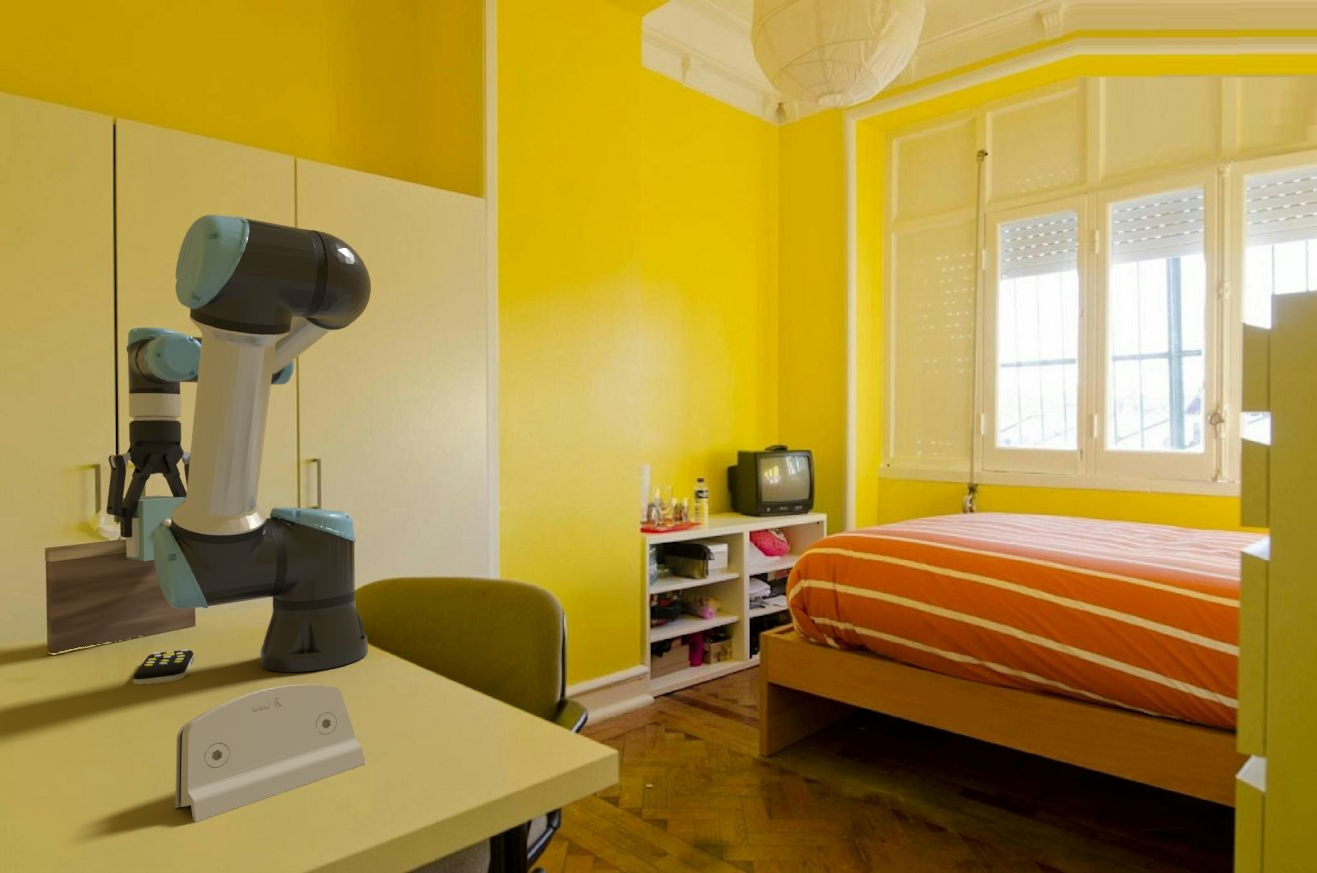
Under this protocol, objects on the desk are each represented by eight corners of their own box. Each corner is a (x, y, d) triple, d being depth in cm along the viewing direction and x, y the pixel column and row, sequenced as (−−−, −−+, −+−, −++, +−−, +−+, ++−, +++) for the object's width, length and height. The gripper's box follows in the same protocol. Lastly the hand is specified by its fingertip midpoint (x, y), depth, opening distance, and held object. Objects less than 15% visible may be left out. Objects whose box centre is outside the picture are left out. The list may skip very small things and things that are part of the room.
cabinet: (191, 555, 136) (190, 497, 136) (147, 561, 130) (146, 501, 130) (158, 551, 142) (157, 495, 142) (114, 556, 136) (113, 498, 136)
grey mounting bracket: (190, 823, 70) (176, 709, 72) (174, 825, 73) (160, 715, 75) (368, 763, 82) (351, 667, 84) (348, 766, 85) (332, 673, 87)
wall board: (196, 626, 144) (194, 532, 144) (53, 655, 125) (51, 548, 125) (189, 624, 145) (187, 532, 145) (46, 653, 126) (44, 547, 126)
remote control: (131, 689, 109) (131, 674, 109) (148, 665, 121) (148, 652, 121) (183, 683, 112) (182, 668, 112) (194, 659, 123) (194, 647, 123)
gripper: (203, 420, 145) (205, 544, 145) (78, 419, 128) (80, 560, 128) (225, 419, 141) (227, 547, 141) (99, 418, 124) (102, 563, 124)
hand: (157, 553), depth 135 cm, fingers closed on cabinet, 7 cm apart
